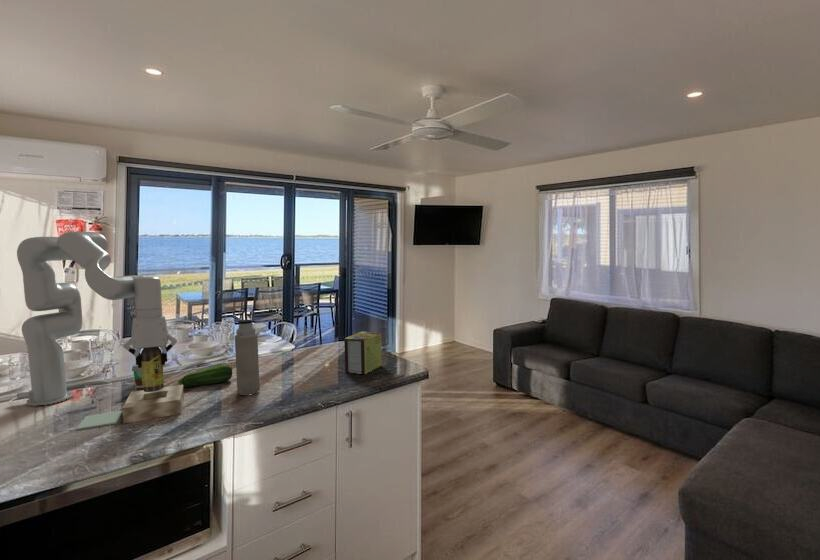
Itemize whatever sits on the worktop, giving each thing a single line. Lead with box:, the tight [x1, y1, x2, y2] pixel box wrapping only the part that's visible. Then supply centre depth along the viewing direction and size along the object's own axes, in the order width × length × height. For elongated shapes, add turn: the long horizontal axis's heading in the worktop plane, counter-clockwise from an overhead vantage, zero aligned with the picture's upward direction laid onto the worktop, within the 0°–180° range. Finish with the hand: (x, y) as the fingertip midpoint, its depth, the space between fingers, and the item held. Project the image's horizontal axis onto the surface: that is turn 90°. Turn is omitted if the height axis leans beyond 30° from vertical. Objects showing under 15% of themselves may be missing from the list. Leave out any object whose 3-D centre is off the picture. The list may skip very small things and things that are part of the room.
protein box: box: [343, 331, 382, 375], centre depth 182 cm, size 10×15×16 cm
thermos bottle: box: [234, 319, 261, 396], centre depth 154 cm, size 8×8×28 cm
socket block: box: [121, 384, 185, 424], centre depth 139 cm, size 16×16×5 cm
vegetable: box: [177, 364, 233, 388], centre depth 164 cm, size 7×7×20 cm
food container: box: [131, 365, 143, 391], centre depth 162 cm, size 12×6×10 cm, turn 168°
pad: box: [76, 410, 123, 431], centre depth 131 cm, size 10×10×1 cm
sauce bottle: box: [140, 347, 165, 392], centre depth 138 cm, size 6×6×20 cm
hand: (152, 365), depth 138 cm, fingers closed on sauce bottle, 6 cm apart
